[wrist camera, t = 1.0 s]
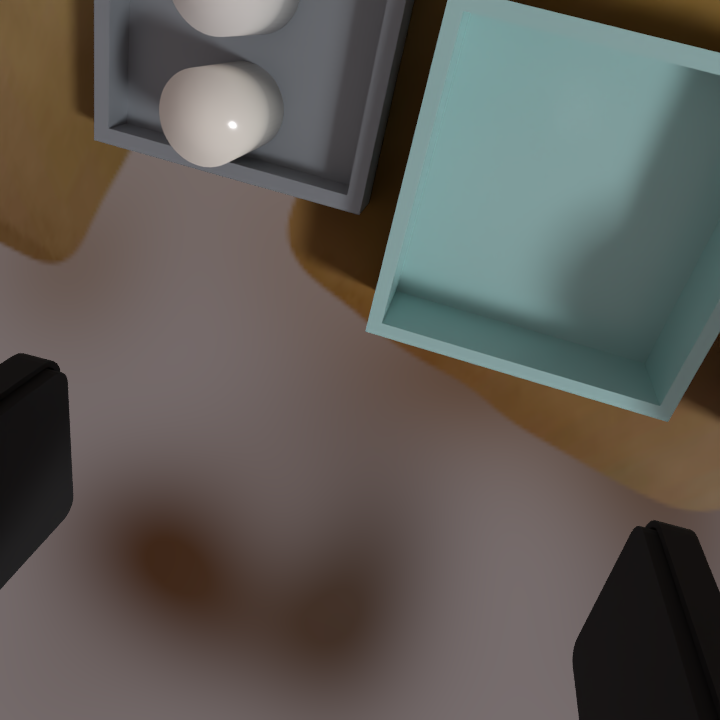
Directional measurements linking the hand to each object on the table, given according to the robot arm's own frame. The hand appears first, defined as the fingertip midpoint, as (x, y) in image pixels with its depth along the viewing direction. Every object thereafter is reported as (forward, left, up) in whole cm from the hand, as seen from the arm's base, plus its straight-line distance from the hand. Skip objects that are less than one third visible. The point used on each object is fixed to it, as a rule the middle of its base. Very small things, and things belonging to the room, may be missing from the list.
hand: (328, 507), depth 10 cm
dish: (0, +5, -26) cm, 26 cm away
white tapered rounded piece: (-1, -12, -25) cm, 28 cm away
